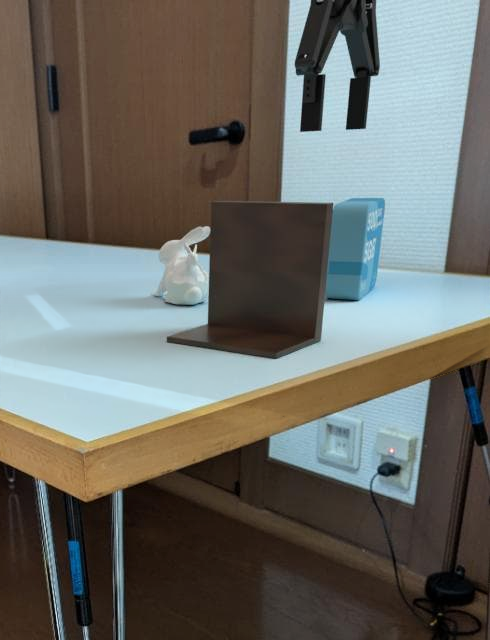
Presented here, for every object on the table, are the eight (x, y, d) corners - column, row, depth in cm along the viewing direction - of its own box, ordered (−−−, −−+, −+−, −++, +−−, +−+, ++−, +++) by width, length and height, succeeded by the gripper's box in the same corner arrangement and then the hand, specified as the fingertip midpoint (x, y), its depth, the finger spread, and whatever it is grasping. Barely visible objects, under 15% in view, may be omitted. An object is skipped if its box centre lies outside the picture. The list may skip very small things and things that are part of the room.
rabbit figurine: (149, 295, 117) (149, 224, 113) (198, 290, 118) (200, 220, 114) (175, 309, 106) (176, 232, 102) (229, 304, 108) (232, 228, 103)
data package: (358, 302, 106) (368, 204, 101) (323, 300, 108) (332, 204, 103) (375, 287, 115) (386, 197, 110) (343, 285, 117) (352, 197, 112)
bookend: (321, 340, 88) (333, 202, 81) (276, 358, 81) (286, 210, 75) (214, 326, 96) (218, 200, 90) (166, 341, 90) (167, 207, 84)
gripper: (364, -41, 112) (348, 129, 121) (273, -65, 96) (263, 133, 105) (417, -51, 107) (397, 127, 117) (332, -78, 91) (316, 131, 100)
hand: (334, 130), depth 111 cm, fingers open, 13 cm apart
